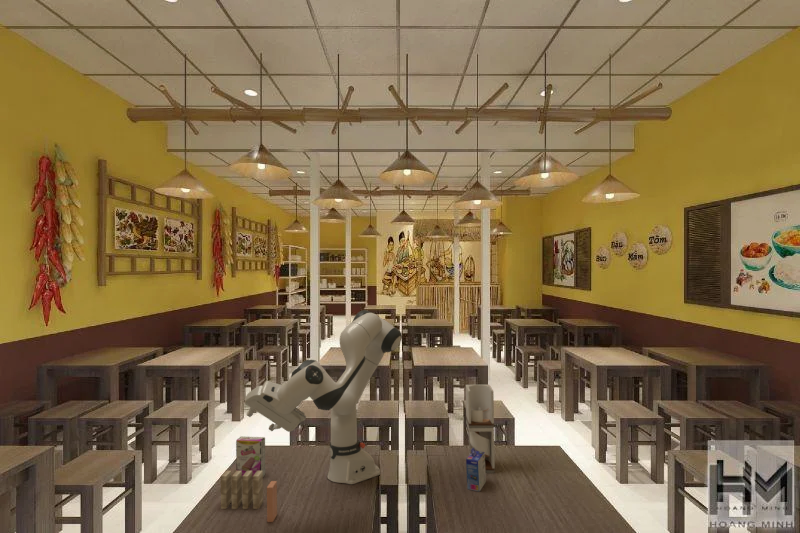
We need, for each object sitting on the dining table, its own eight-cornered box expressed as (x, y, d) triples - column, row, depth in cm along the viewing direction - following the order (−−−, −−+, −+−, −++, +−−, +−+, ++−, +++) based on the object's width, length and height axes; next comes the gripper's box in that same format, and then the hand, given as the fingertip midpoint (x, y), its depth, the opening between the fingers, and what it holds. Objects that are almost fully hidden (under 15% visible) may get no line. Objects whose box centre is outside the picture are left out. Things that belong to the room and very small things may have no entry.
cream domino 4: (262, 502, 181) (262, 470, 181) (258, 508, 176) (258, 476, 176) (257, 502, 181) (257, 470, 181) (253, 508, 176) (252, 476, 176)
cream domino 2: (242, 502, 181) (241, 470, 181) (237, 508, 176) (236, 476, 176) (237, 502, 181) (236, 470, 181) (231, 508, 176) (231, 476, 176)
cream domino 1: (231, 502, 181) (231, 470, 181) (226, 508, 176) (225, 476, 176) (226, 502, 181) (226, 470, 181) (221, 508, 176) (220, 476, 176)
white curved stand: (466, 462, 215) (465, 384, 215) (490, 462, 215) (489, 384, 215) (469, 473, 204) (468, 391, 204) (494, 473, 203) (493, 391, 204)
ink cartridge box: (473, 479, 198) (472, 444, 198) (486, 481, 196) (485, 446, 196) (466, 489, 189) (465, 452, 189) (479, 492, 187) (479, 454, 187)
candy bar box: (235, 479, 201) (235, 440, 201) (240, 474, 206) (240, 435, 206) (261, 479, 200) (260, 440, 200) (266, 474, 205) (265, 436, 205)
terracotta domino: (277, 514, 172) (276, 481, 172) (272, 521, 166) (272, 487, 167) (271, 514, 172) (271, 481, 172) (267, 521, 167) (266, 487, 167)
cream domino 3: (252, 502, 181) (252, 470, 181) (248, 508, 176) (247, 476, 176) (247, 502, 181) (247, 470, 181) (242, 508, 176) (242, 476, 176)
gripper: (309, 409, 167) (285, 430, 172) (263, 377, 160) (238, 400, 165) (307, 423, 162) (281, 444, 166) (258, 390, 155) (232, 413, 159)
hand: (259, 421), depth 165 cm, fingers open, 8 cm apart
